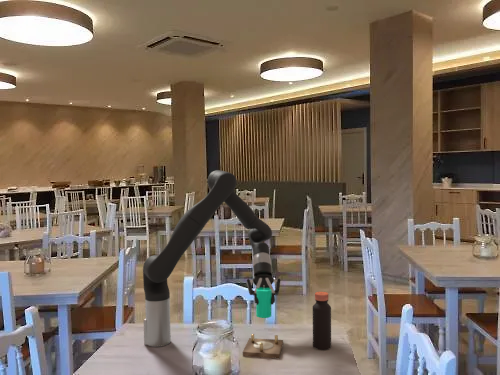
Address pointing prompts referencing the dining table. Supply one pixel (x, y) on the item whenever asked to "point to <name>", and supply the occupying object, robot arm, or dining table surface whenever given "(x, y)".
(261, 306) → the candle
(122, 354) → the dining table surface
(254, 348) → the stand
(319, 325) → the bottle
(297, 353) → the dining table surface
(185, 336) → the dining table surface
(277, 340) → the pins
